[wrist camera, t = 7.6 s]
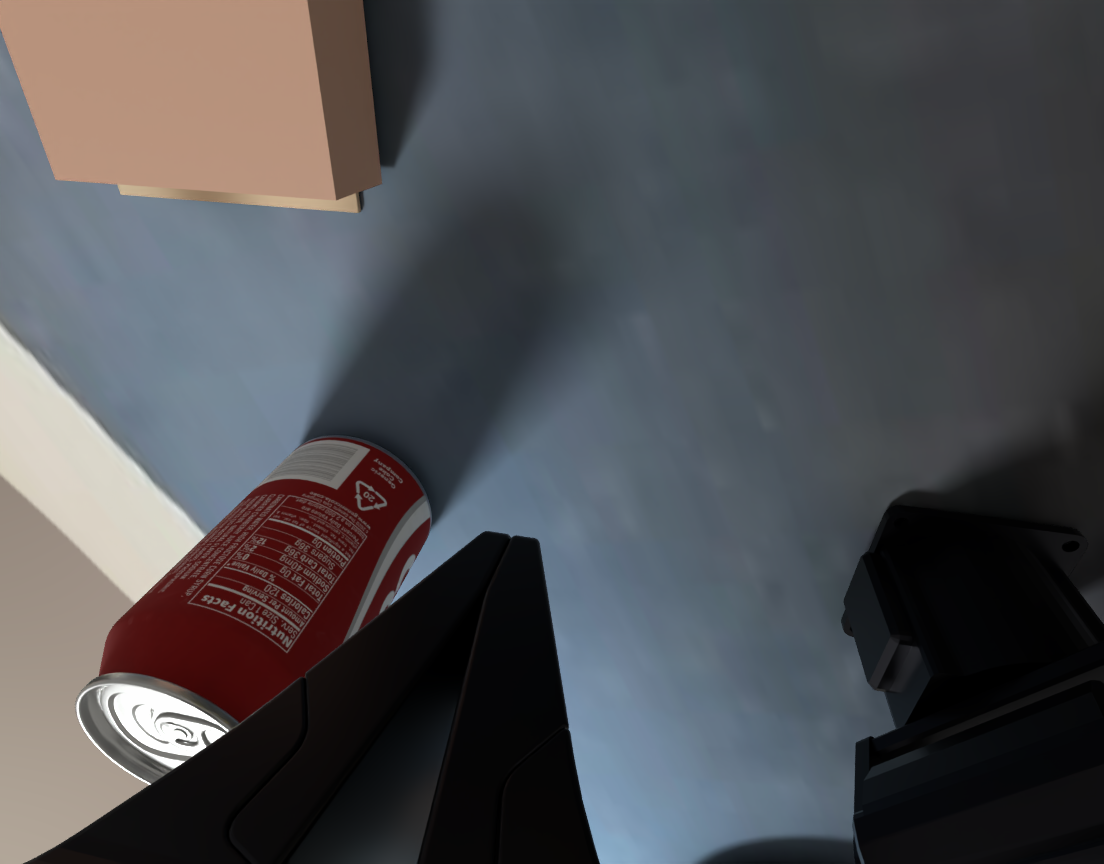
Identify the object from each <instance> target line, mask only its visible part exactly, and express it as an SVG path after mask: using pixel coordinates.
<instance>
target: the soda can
mask: <svg viewBox="0 0 1104 864" xmlns="http://www.w3.org/2000/svg"><path fill="white" fill-rule="evenodd" d="M431 523H432V512H431V506H430V502H429V499H428V496H427V494H426V492H425V490H424V488H423V486H422V484H421V483H420V481H419V480H418V478H417V477H416V476H415V474H414V473H413V472H412V471H411V470H410V469H409V468H408V466H407V465H405V464H404V463H403V462H402V461H401V460H400V459H399V458H397V457H396V456H395V455H393V454H392V453H390V452H389V451H387V450H385V449H384V448H382V447H380V446H378V445H376V444H374V443H371V442H369V441H366V440H363V439H360V438H356V437H351V436H344V435H327V436H321V437H317V438H314V439H311V440H309V441H307V442H305V443H303V444H302V445H300V446H299V447H298V448H296V449H295V450H294V451H293V452H292V453H291V454H290V455H289V456H288V457H287V458H286V459H285V460H284V461H283V462H282V463H281V464H280V465H279V466H278V467H277V468H276V469H275V470H274V471H273V472H272V473H271V474H270V475H268V476H267V477H266V478H265V479H264V480H263V481H262V482H261V483H260V484H259V485H258V486H257V487H256V488H255V489H254V490H253V491H252V492H251V493H250V494H249V495H248V496H247V497H246V498H245V499H244V500H243V501H242V502H240V503H239V504H238V505H237V506H236V507H235V508H234V509H233V510H232V511H231V512H230V513H229V514H228V515H227V516H226V517H225V518H224V519H223V520H222V521H221V522H220V523H219V524H218V525H217V526H216V527H215V528H214V529H212V530H211V531H210V532H209V533H208V534H207V535H206V536H205V537H204V538H203V539H202V540H201V541H200V542H199V543H198V544H197V545H196V546H195V547H194V548H193V549H192V550H191V551H190V552H189V553H188V554H187V555H186V556H184V557H183V558H182V559H181V560H180V561H179V562H178V563H177V564H176V565H175V566H174V567H173V568H172V569H171V570H170V571H169V572H168V573H167V574H166V575H165V576H164V577H163V578H162V579H161V580H160V581H159V582H158V583H156V584H155V585H154V586H153V587H152V588H151V589H150V590H149V591H148V592H147V593H146V594H145V595H144V596H143V597H142V598H141V599H140V600H139V601H138V602H137V603H136V604H135V605H134V606H133V607H132V608H131V609H130V610H129V611H128V612H127V613H125V615H123V616H122V617H121V618H120V619H119V620H118V621H117V622H116V623H115V625H114V626H113V627H112V629H111V630H110V632H109V634H108V636H107V640H106V642H105V647H104V652H103V657H102V662H101V667H100V672H99V677H96V678H95V679H93V680H92V681H90V682H89V683H88V684H87V685H86V686H85V687H84V688H83V689H82V690H81V692H80V693H79V695H78V696H77V699H76V703H75V710H76V715H77V718H78V721H79V723H80V725H81V727H82V729H83V730H84V732H85V734H86V735H87V736H88V737H89V739H90V740H91V741H92V742H93V744H94V745H96V747H97V748H98V749H99V750H100V751H101V752H102V753H103V754H105V755H106V756H107V757H108V758H109V759H110V760H112V761H113V762H114V763H115V764H117V765H118V766H119V767H121V768H122V769H124V770H125V771H127V772H128V773H130V774H131V775H133V776H135V777H136V778H138V779H140V780H141V781H143V782H145V783H147V784H149V785H150V784H152V783H153V782H155V781H156V780H158V779H159V778H161V777H162V776H164V775H165V774H167V773H168V772H170V771H171V770H173V769H174V768H176V767H177V766H179V765H180V764H182V763H183V762H185V761H186V760H188V759H189V758H191V757H192V756H194V755H195V754H197V753H198V752H199V751H201V750H202V749H204V748H205V747H207V746H208V745H209V744H211V743H212V742H214V741H215V740H217V739H218V738H220V737H221V736H222V735H224V734H225V733H227V732H228V731H230V730H231V729H233V728H234V727H235V726H237V725H238V724H240V723H241V722H242V721H244V720H245V719H246V718H247V717H249V716H250V715H251V714H253V713H254V712H255V711H257V710H258V709H259V708H261V707H262V706H263V705H265V704H266V703H267V702H269V701H270V700H271V699H273V698H274V697H275V696H277V695H278V694H279V693H280V692H282V691H283V690H284V689H285V688H287V687H288V686H289V685H290V684H292V683H293V682H294V681H295V680H297V679H298V678H299V677H304V678H305V673H306V672H307V671H308V670H310V669H311V668H312V667H313V666H315V665H316V664H317V663H318V662H320V661H321V660H322V659H323V658H325V657H326V656H327V655H329V654H330V653H331V652H332V651H334V650H335V649H336V648H337V647H339V646H340V645H341V644H342V643H344V642H345V641H346V640H347V639H349V638H350V637H351V636H352V635H354V634H355V633H356V632H358V631H359V630H360V629H361V628H363V627H364V626H365V625H366V624H368V623H369V622H370V621H371V620H373V619H374V618H375V617H376V616H378V615H379V614H380V613H381V612H383V611H384V610H385V609H387V608H388V607H389V606H390V604H391V603H392V601H393V599H394V597H395V595H396V594H397V592H398V590H399V588H400V586H401V585H402V583H403V581H404V579H405V577H406V576H407V574H408V572H409V570H410V568H411V567H412V565H413V563H414V561H415V559H416V558H417V556H418V554H419V552H420V550H421V549H422V547H423V545H424V543H425V541H426V540H427V537H428V535H429V533H430V529H431Z"/></svg>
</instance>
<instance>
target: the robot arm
mask: <svg viewBox="0 0 1104 864" xmlns="http://www.w3.org/2000/svg"><path fill="white" fill-rule="evenodd" d="M898 518H905V519H904V520H903V521H900V522H895V520H896V519H898ZM1068 541H1071V542H1070V543H1068V544H1064V543H1066V542H1068ZM1087 546H1088V542H1087V540H1086V538H1085V537H1084V536H1083V535H1082V534H1081V533H1080V532H1079V531H1078V530H1077V529H1073V528H1068V527H1061V526H1053V525H1046V524H1038V523H1031V522H1023V521H1016V520H1008V519H1001V518H993V517H986V516H978V515H971V514H963V513H956V512H948V511H941V510H933V509H926V508H918V507H911V506H903V505H899V506H894V507H891V508H889V509H888V510H886V512H885V513H884V515H883V517H882V520H881V522H880V525H879V527H878V530H877V532H876V535H875V537H874V540H873V542H872V545H871V547H870V550H869V552H866V553H865V554H864V555H862V556H861V558H860V560H859V563H858V565H857V568H856V570H855V573H854V576H853V578H852V581H851V583H850V586H849V588H848V591H847V593H846V596H845V598H844V605H845V608H846V609H845V612H844V614H843V617H842V620H841V623H842V627H843V630H844V632H845V633H846V634H847V635H849V636H852V637H854V638H855V642H856V645H857V648H858V652H859V655H860V659H861V662H862V665H863V669H864V672H865V675H866V679H867V682H868V683H869V685H870V686H871V687H872V688H873V689H874V690H877V691H883V692H884V693H885V696H886V699H887V702H888V706H889V709H890V712H891V715H892V718H893V721H894V724H895V727H896V729H895V730H892V731H890V732H888V733H885V734H883V735H881V736H878V737H876V738H873V737H872V736H870V737H868V738H865V739H863V740H861V741H858V742H856V752H855V796H854V815H853V824H852V827H853V832H854V840H853V844H854V858H855V862H856V864H1104V624H1103V623H1102V621H1101V620H1100V619H1099V618H1098V616H1097V615H1096V614H1095V612H1094V611H1093V610H1092V608H1091V607H1090V606H1089V604H1088V603H1087V602H1086V600H1085V599H1084V598H1083V596H1082V595H1081V594H1080V592H1079V591H1078V590H1077V588H1076V587H1075V586H1074V585H1073V583H1072V582H1071V581H1070V579H1069V578H1068V577H1069V575H1070V574H1071V572H1072V571H1073V569H1074V568H1075V566H1076V564H1077V563H1078V561H1079V560H1080V558H1081V557H1082V555H1083V554H1084V552H1085V551H1086V549H1087ZM568 729H569V724H568V718H567V711H566V705H565V699H564V693H563V686H562V680H561V674H560V668H559V661H558V655H557V649H556V643H555V636H554V630H553V624H552V618H551V611H550V605H549V599H548V593H547V587H546V580H545V574H544V568H543V562H542V555H541V549H540V543H539V541H538V540H537V539H536V538H530V537H523V536H513V537H512V538H511V537H510V536H509V535H508V534H504V533H497V532H490V531H485V532H483V533H481V534H480V535H478V536H477V537H476V538H475V539H473V540H472V541H471V542H470V543H468V544H467V545H466V546H465V547H463V548H462V549H461V550H460V551H458V552H457V553H456V554H455V555H453V556H452V557H451V558H450V559H448V560H447V561H446V562H444V563H443V564H442V565H441V566H439V567H438V568H437V569H436V570H434V571H433V572H432V573H431V574H429V575H428V576H427V577H426V578H424V579H423V580H422V581H421V582H419V583H418V584H417V585H415V586H414V587H413V588H412V589H410V590H409V591H408V592H407V593H405V594H404V595H403V596H402V597H400V598H399V599H398V600H397V601H395V602H394V603H393V604H392V605H390V606H389V607H388V608H387V609H385V610H384V611H383V612H381V613H380V614H379V615H378V616H376V617H375V618H374V619H373V620H371V621H370V622H369V623H368V624H366V625H365V626H364V627H363V628H361V629H360V630H359V631H358V632H356V633H355V634H354V635H352V636H351V637H350V638H349V639H347V640H346V641H345V642H344V643H342V644H341V645H340V646H339V647H337V648H336V649H335V650H334V651H332V652H331V653H330V654H329V655H327V656H326V657H325V658H323V659H322V660H321V661H320V662H318V663H317V664H316V665H315V666H313V667H312V668H311V669H310V670H308V671H307V672H306V673H305V678H304V677H299V678H298V679H297V680H295V681H294V682H293V683H292V684H290V685H289V686H288V687H287V688H285V689H284V690H283V691H282V692H280V693H279V694H278V695H277V696H275V697H274V698H273V699H271V700H270V701H269V702H267V703H266V704H265V705H263V706H262V707H261V708H259V709H258V710H257V711H255V712H254V713H253V714H251V715H250V716H249V717H247V718H246V719H245V720H244V721H242V722H241V723H240V724H238V725H237V726H235V727H234V728H233V729H231V730H230V731H228V732H227V733H225V734H224V735H222V736H221V737H220V738H218V739H217V740H215V741H214V742H212V743H211V744H209V745H208V746H207V747H205V748H204V749H202V750H201V751H199V752H198V753H197V754H195V755H194V756H192V757H191V758H189V759H188V760H186V761H185V762H183V763H182V764H180V765H179V766H177V767H176V768H174V769H173V770H171V771H170V772H168V773H167V774H165V775H164V776H162V777H161V778H159V779H158V780H156V781H155V782H153V783H152V784H150V785H149V786H147V787H146V788H144V789H143V790H141V791H140V792H138V793H137V794H135V795H134V796H132V797H131V798H129V799H128V800H126V801H125V802H123V803H122V804H120V805H119V806H117V807H116V808H114V809H113V810H111V811H110V812H108V813H107V814H105V815H104V816H103V817H101V818H99V819H98V820H96V821H95V822H93V823H92V824H90V825H89V826H87V827H86V828H84V829H83V830H81V831H80V832H78V833H77V834H75V835H73V836H72V837H70V838H69V839H67V840H65V841H64V842H62V843H61V844H59V845H57V846H56V847H54V848H52V849H50V850H48V851H47V852H45V853H43V854H41V855H39V856H37V857H36V858H34V859H32V860H30V861H28V862H25V863H23V864H600V863H599V859H598V856H597V853H596V849H595V845H594V842H593V838H592V834H591V831H590V827H589V823H588V819H587V816H586V812H585V808H584V804H583V800H582V795H581V790H580V785H579V780H578V775H577V770H576V765H575V760H574V753H573V747H572V741H571V734H570V731H569V730H568Z"/></svg>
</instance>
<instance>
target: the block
mask: <svg viewBox="0 0 1104 864" xmlns="http://www.w3.org/2000/svg"><path fill="white" fill-rule="evenodd" d="M0 28H1V31H2V34H3V37H4V39H5V42H6V45H7V48H8V50H9V53H10V56H11V59H12V61H13V64H14V67H15V69H16V72H17V75H18V78H19V80H20V83H21V86H22V89H23V91H24V94H25V97H26V100H27V102H28V105H29V108H30V111H31V113H32V116H33V119H34V121H35V124H36V127H37V130H38V132H39V135H40V138H41V141H42V143H43V146H44V149H45V152H46V154H47V157H48V160H49V163H50V165H51V168H52V171H53V173H54V176H55V179H56V180H65V181H79V182H92V183H106V184H120V185H133V186H147V187H160V188H174V189H187V190H201V191H214V192H228V193H241V194H255V195H268V196H282V197H295V198H309V199H322V200H339V199H342V198H344V197H347V196H350V195H353V194H355V193H358V192H361V191H364V190H366V189H369V188H372V187H375V186H377V185H380V184H382V178H381V168H380V159H379V150H378V140H377V131H376V121H375V112H374V102H373V93H372V83H371V74H370V64H369V55H368V45H367V36H366V26H365V17H364V7H363V0H0Z"/></svg>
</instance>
